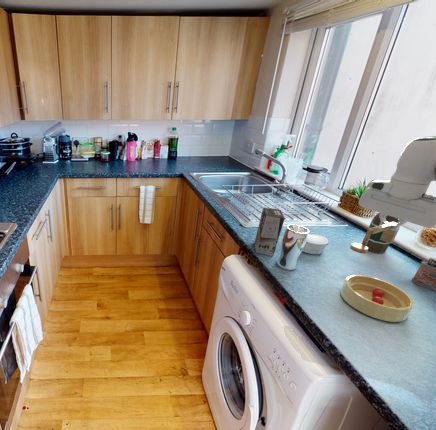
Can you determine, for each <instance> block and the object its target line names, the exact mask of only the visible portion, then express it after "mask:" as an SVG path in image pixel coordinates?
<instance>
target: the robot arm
mask: <svg viewBox="0 0 436 430" xmlns="http://www.w3.org/2000/svg"><path fill="white" fill-rule="evenodd" d="M432 182H436V135H432V136H431V135H430V136H429V135H428V136H420V137H419V136H418V137H415V138H414V139H412V140H410V141H409V142H408V143H407V144H406V146H405V147H404V148H403V150H402V152H401V154H400V156H399V158H398V161H397V163H396V169H395V171H394V173H392V175H391V176H390V179H377V180H373V181H370V182H369V183H368V185H367V186H368V187H367V188H366V189H365V190H364V191H363V192H362V193H361V196H360V198H359V200H358V206H359V207H361V208H364V209H367V210H371V211H373V212H377V213H380V214H379V217H380V221H381V223H380V225H383V224H386V223H389V222H387V221H386V217H385V216H388V215H389V216H392V217H395V218H398V220H399V221H398V222H399V224H397V225H396V224H394V225H392V226H391V228H390V230H393V231H398V232H399V230H400V227H402V226H403V225H405V224H407V223H411V224H414V225H417V226H420V227H423V228H427V229H432V228H436V196H435V195H432V194H428V193H427V191H428V189H429V188H430V185H431V183H432ZM398 229H399V230H398Z"/></svg>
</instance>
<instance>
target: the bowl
mask: <svg viewBox="0 0 436 430" xmlns="http://www.w3.org/2000/svg"><path fill="white" fill-rule="evenodd" d="M375 289H379V290H381V291H383V293H384V296H383V297H381V298H382V299H383V301H384V303H383V305H381V304H378V303H376V302H373V301H372V298H373V297H375V296H373V294H372V292H373V290H375ZM340 295H341V297H342V298H343V300H344V301H345V302H346V303H347V304H349V306H351V307H352V308H354V309H355V310H357V311H358V312H360V313H362V314H364V315H367V316H369V317H371V318H374V319H378V320H380V321H385V322H391V323H399V322H403V321H405V320H407V318H408V317H409V315H410V314H411V312H412V310H413V309H414V305H415V301H414V300H413V298H412V296H410V295H409V294H408V293H407V292H406V291H404V290H403V289H402V288H400V287H398V286H396V285H394V284H392V283H391V282H388V281H385V280H383V279H380V278H377V277H373V276H369V275H364V274H351V275H348V276H347V277H346V278H345V280H344V282H343V284H342V286H341V288H340Z"/></svg>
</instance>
